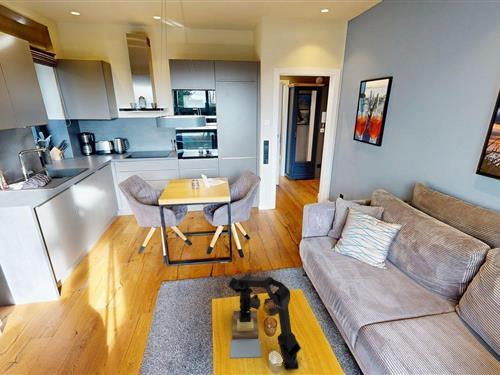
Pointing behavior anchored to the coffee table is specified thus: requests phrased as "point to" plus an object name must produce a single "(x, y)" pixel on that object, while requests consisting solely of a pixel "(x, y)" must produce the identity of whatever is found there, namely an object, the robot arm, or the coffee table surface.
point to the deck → (245, 334)
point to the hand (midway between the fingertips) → (245, 318)
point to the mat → (245, 348)
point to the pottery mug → (271, 306)
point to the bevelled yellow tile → (245, 326)
